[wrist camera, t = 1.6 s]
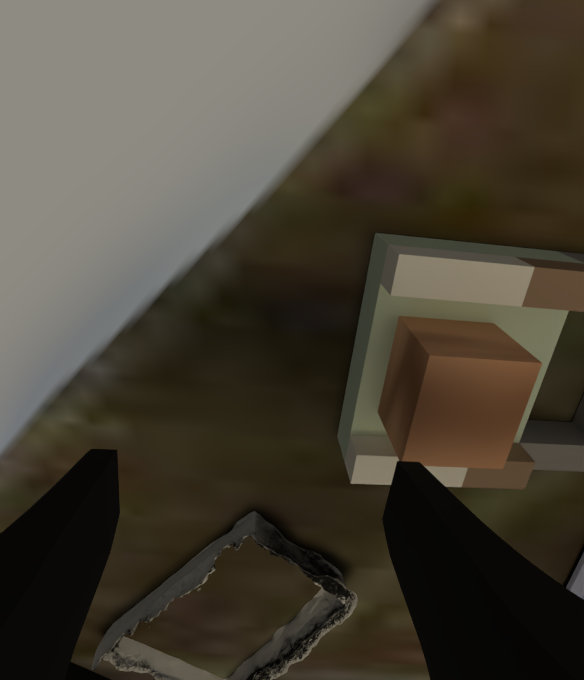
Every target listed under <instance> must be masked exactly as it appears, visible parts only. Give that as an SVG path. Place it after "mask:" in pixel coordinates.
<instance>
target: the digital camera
mask: <svg viewBox="0 0 584 680" xmlns="http://www.w3.org/2000/svg"><path fill="white" fill-rule="evenodd" d="M65 680H110V679H108V678H106V677H103V676H101V675H99V674H97V673H94V672H92V671H90V670H88V669H85V668H83V667H81V666H78V665H76V664H74V663H72V662H70V664H69V667H68V670H67V674H66V677H65Z"/></svg>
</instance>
